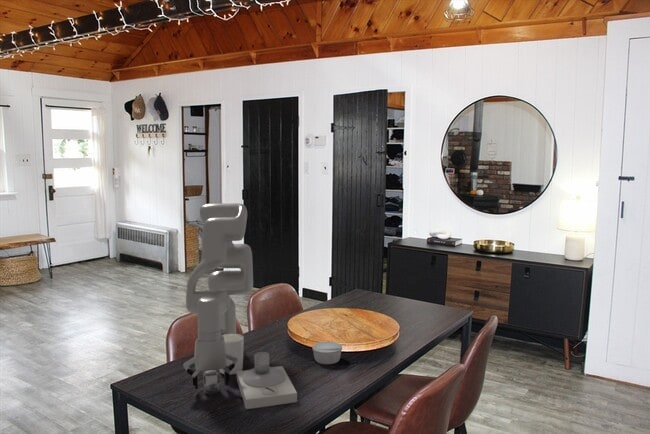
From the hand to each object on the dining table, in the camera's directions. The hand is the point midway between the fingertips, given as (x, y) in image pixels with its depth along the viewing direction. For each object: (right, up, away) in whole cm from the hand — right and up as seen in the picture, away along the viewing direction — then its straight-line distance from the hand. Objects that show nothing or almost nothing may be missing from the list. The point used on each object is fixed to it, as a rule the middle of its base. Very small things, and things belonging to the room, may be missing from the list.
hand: (211, 385), depth 172 cm
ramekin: (+38, +1, +26) cm, 46 cm away
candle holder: (+3, 0, +17) cm, 17 cm away
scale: (+18, -2, +1) cm, 18 cm away
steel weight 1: (0, -2, 0) cm, 2 cm away
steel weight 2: (+16, +3, +6) cm, 17 cm away
